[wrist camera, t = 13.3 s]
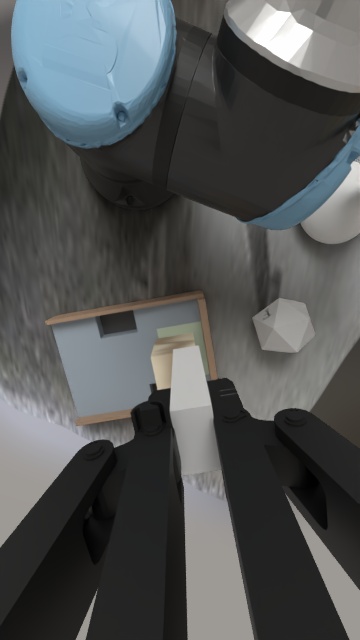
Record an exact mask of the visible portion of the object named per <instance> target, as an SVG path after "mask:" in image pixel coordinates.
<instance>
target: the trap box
mask: <svg viewBox="0 0 360 640" xmlns="http://www.w3.org/2000/svg"><path fill="white" fill-rule="evenodd" d="M45 322H46V325H49V324H51V325H52V329H53V332H54V335H55V339H56V342H57V346H58V349H59V352H60V356H61V359H62V363H63V366H64V370H65V373H66V376H67V380H68V383H69V387H70V390H71V393H72V397H73V400H74V404H75V407H76V410H77V414H78V417H79V418H78V419H77V421H76V426H79V425H85V424H92V423H98V422H104V421H110V420H116V419H122V418H129V417H131V414H130V412H131V411H132V409H133V408H134V407H135V406H137V405H138V404H140V403H142V402H145V401H148V398H149V396H150V395H151V394H152V392H153V391H155V390H157V385H156V380H155V376H154V371H153V366H152V361H151V354H152V350H153V347H154V343H155V339H158V338H164V337H170V336H176V335H181V334H187V333H193V335H194V340H195V346H196V345H199V349H200V354H201V359H202V363H203V368H204V372H205V377H206V381H210V380H216V379H218V377H217V371H216V365H215V358H214V352H213V346H212V340H211V333H210V327H209V321H208V314H207V308H206V302H205V298H204V293H203V292H202V290H198V291H192V292H186V293H181V294H175V295H169V296H164V297H158V298H152V299H147V300H141V301H135V302H130V303H124V304H119V305H113V306H107V307H102V308H96V309H90V310H85V311H79V312H73V313H68V314H62V315H57V316H55V317H53V318H51V319H49V320H47V321H45Z"/></svg>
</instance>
